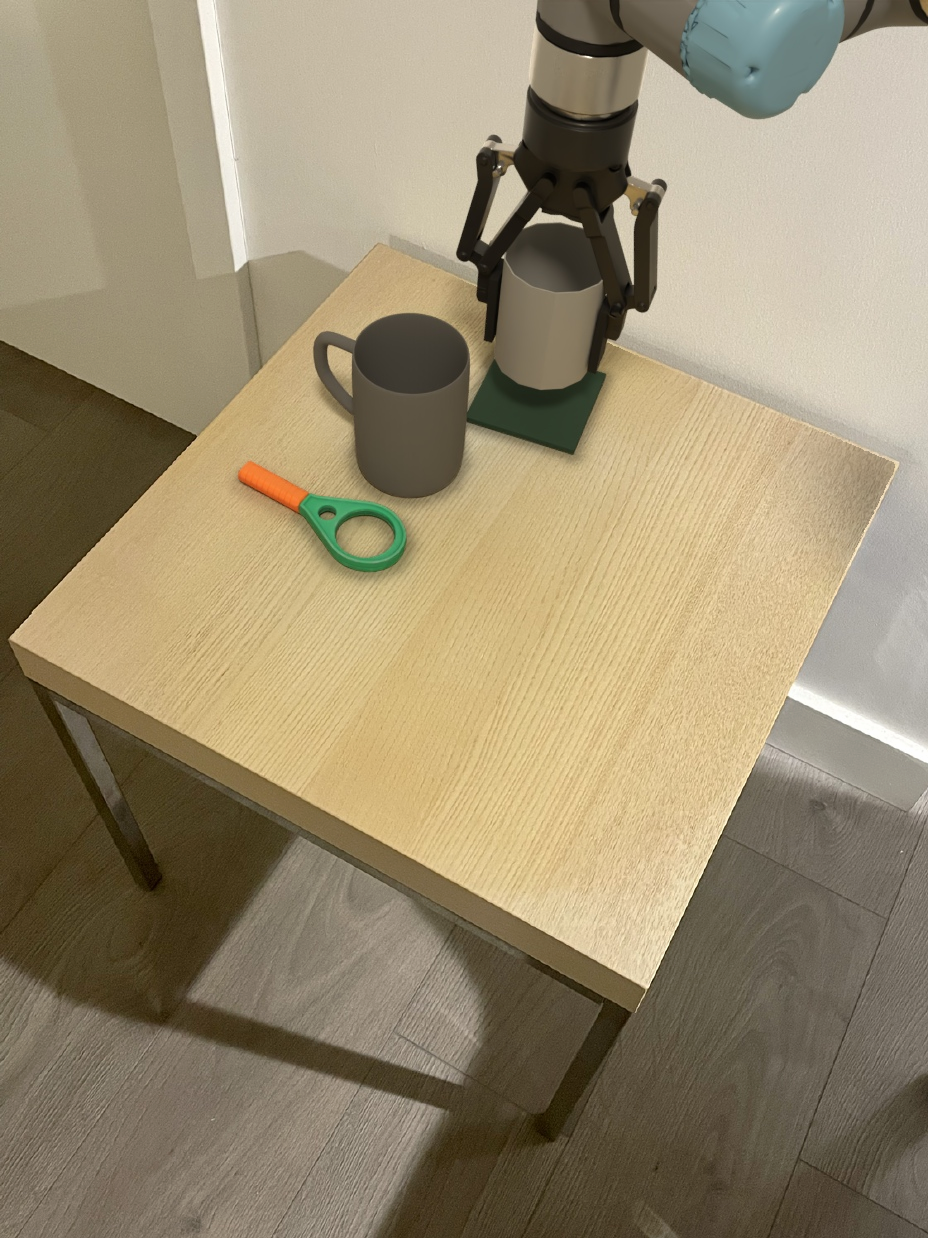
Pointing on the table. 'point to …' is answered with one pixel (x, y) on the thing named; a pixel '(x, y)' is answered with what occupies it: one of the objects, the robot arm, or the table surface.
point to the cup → (548, 306)
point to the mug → (404, 400)
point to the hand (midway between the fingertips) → (544, 346)
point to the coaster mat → (535, 409)
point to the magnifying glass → (326, 529)
